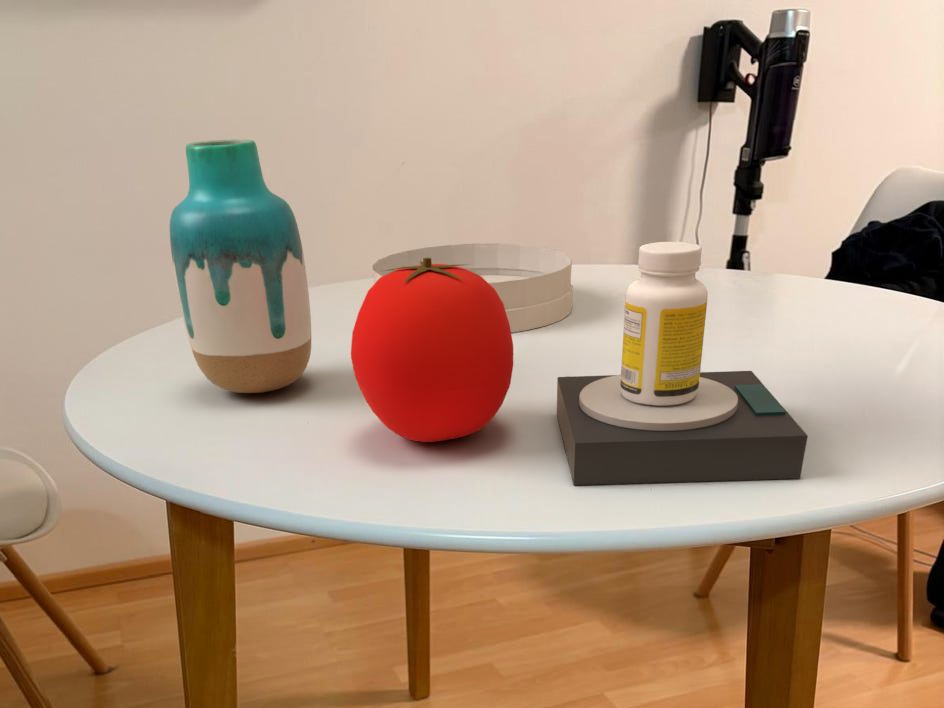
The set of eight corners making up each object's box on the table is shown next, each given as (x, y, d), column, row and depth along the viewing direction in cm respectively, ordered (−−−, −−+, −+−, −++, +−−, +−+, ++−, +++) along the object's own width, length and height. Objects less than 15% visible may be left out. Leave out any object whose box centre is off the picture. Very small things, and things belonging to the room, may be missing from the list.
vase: (304, 364, 86) (275, 133, 76) (332, 397, 78) (303, 142, 67) (190, 380, 83) (143, 142, 72) (206, 416, 75) (155, 152, 64)
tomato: (444, 399, 76) (436, 237, 69) (547, 432, 69) (550, 255, 62) (324, 439, 69) (302, 264, 62) (425, 481, 62) (412, 287, 55)
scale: (746, 408, 72) (752, 362, 70) (800, 478, 60) (809, 426, 58) (556, 414, 72) (557, 368, 70) (573, 485, 60) (575, 433, 59)
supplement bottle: (707, 389, 65) (724, 241, 60) (682, 412, 61) (697, 257, 56) (636, 379, 67) (646, 237, 62) (607, 401, 64) (615, 251, 58)
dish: (511, 346, 89) (510, 292, 86) (333, 322, 99) (328, 274, 96) (605, 297, 104) (607, 250, 102) (443, 281, 114) (441, 238, 112)
